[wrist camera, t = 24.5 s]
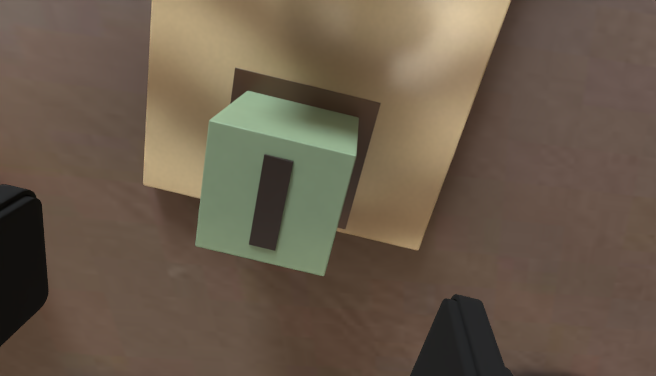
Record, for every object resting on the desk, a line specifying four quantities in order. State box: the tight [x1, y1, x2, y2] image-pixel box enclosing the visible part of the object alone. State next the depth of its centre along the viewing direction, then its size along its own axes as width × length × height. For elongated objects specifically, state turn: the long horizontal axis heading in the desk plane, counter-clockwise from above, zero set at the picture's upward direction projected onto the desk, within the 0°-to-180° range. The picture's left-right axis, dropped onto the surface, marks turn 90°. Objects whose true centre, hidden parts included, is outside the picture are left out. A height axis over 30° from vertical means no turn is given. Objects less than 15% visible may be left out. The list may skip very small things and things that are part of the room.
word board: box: [143, 0, 511, 250], centre depth 18 cm, size 18×14×1 cm
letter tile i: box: [195, 91, 359, 276], centre depth 17 cm, size 5×5×5 cm
